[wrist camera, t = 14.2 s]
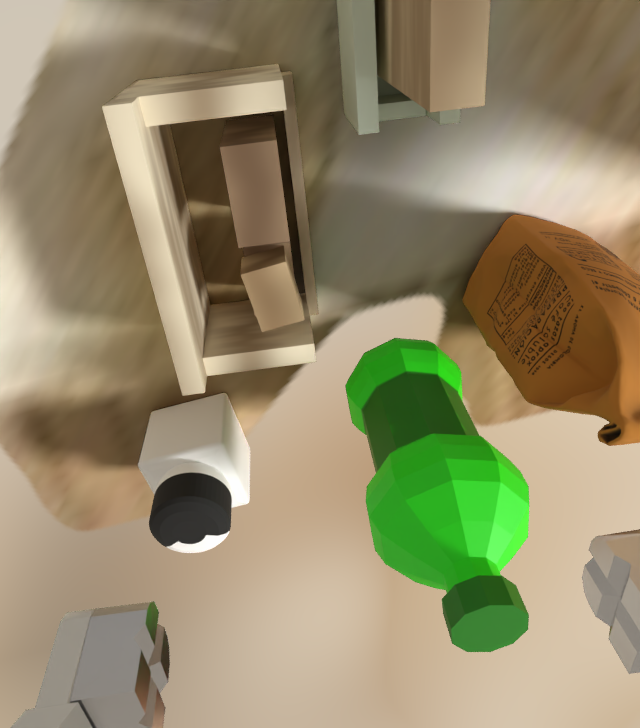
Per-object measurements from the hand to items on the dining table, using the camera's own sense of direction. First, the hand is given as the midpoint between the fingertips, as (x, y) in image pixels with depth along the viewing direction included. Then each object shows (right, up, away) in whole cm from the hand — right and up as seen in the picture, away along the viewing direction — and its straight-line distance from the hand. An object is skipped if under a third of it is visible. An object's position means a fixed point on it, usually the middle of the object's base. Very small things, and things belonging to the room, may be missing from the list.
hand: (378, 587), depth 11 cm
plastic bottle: (+6, +4, +41) cm, 41 cm away
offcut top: (-4, +10, +30) cm, 32 cm away
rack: (-7, +16, +32) cm, 36 cm away
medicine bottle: (-12, -2, +43) cm, 44 cm away
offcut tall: (-5, +18, +30) cm, 36 cm away
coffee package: (+17, +11, +37) cm, 42 cm away
